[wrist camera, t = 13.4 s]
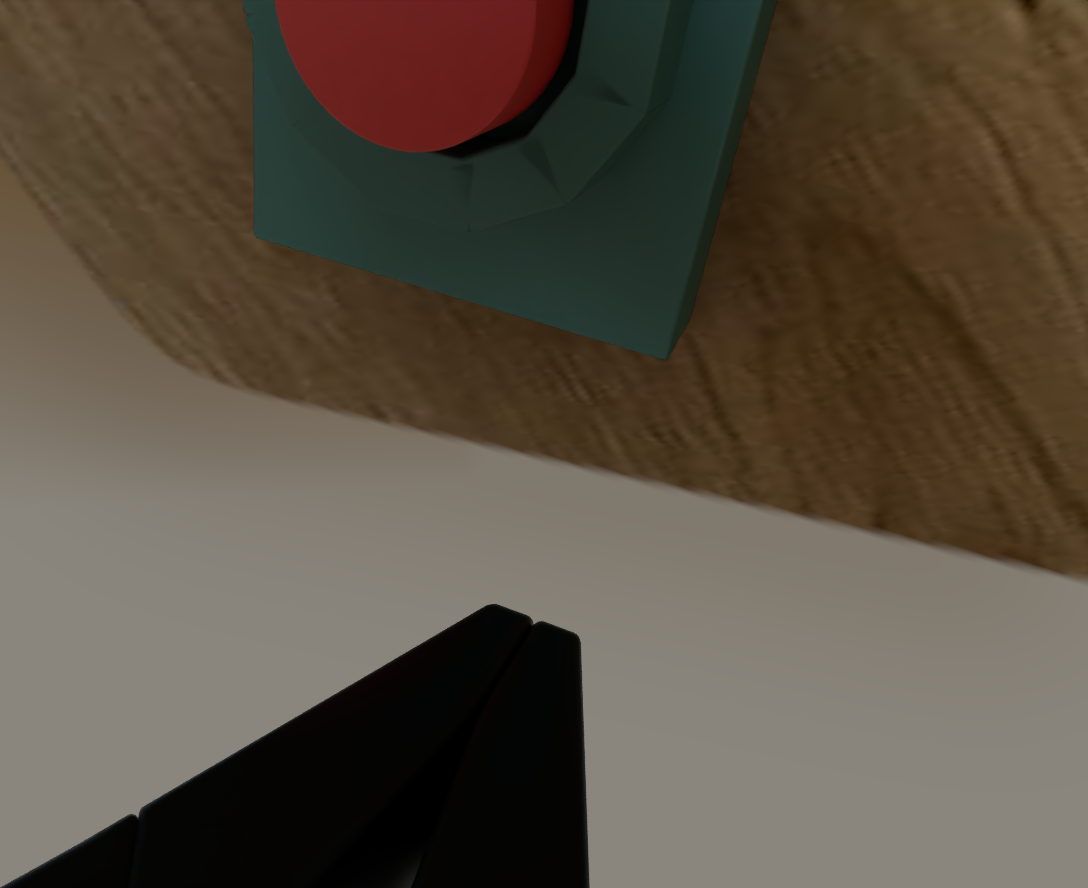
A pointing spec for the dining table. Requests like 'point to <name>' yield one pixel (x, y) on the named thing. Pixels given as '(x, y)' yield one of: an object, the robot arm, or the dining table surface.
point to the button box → (534, 174)
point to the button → (425, 63)
